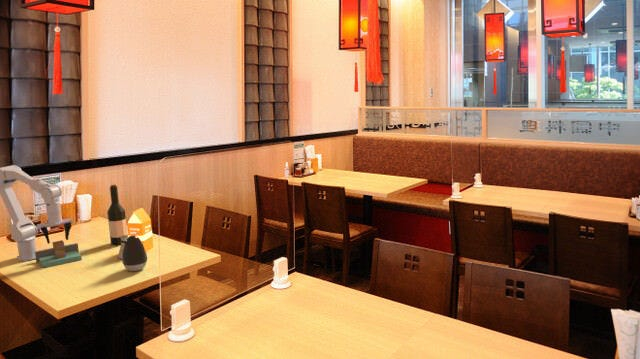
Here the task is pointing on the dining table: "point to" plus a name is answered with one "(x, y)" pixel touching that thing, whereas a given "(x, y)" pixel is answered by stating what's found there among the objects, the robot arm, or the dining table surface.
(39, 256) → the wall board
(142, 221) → the orange juice
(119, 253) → the flask
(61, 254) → the walnut block
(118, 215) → the wine bottle
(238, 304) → the dining table surface
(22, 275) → the dining table surface
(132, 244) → the black egg shape
